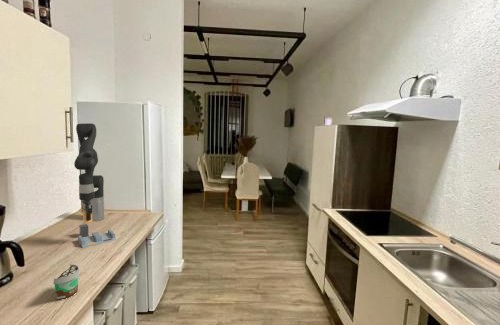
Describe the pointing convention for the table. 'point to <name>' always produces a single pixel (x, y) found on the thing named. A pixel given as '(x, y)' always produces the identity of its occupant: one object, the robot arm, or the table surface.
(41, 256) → the table surface
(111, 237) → the comb board
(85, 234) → the black plug
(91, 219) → the orange plug
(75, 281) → the food container
